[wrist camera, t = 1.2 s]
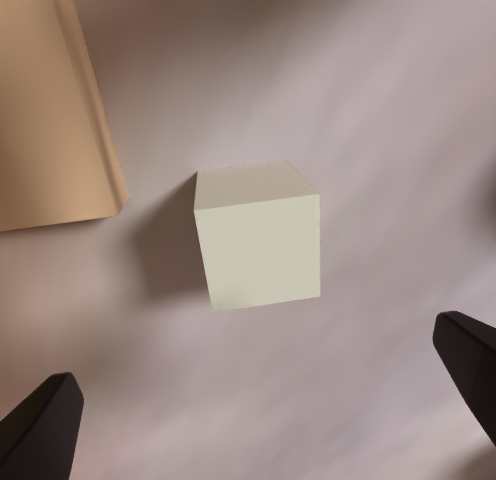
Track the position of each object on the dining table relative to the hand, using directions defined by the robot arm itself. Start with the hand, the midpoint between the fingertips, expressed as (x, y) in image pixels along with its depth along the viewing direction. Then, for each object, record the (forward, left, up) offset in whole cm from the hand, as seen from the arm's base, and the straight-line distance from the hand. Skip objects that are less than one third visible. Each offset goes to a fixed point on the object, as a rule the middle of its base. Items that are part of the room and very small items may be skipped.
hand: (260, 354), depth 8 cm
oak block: (+10, -5, -13) cm, 17 cm away
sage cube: (-1, +1, -12) cm, 12 cm away
